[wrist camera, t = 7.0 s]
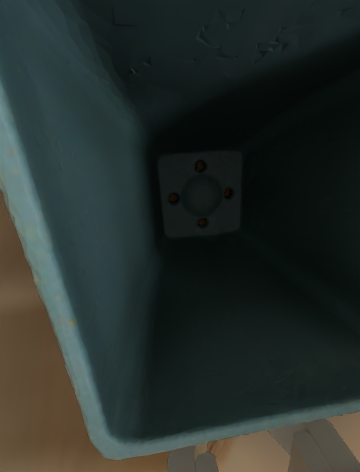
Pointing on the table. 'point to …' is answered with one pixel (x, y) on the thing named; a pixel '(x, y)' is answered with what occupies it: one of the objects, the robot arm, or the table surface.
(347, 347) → the flower pot
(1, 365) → the table surface
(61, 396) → the table surface
